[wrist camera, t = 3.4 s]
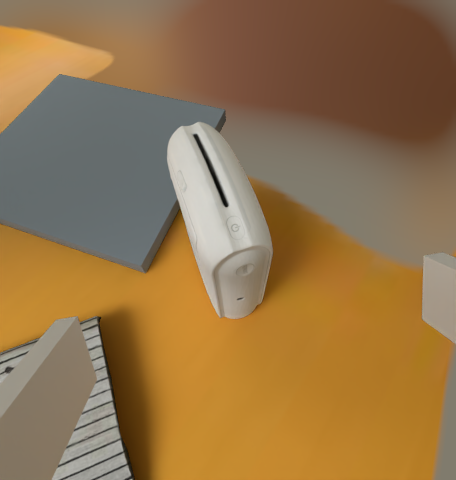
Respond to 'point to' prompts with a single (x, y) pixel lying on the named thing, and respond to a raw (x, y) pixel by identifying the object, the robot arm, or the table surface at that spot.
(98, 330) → the mat
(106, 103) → the slate board
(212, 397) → the table surface
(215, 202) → the photo printer
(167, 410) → the table surface
